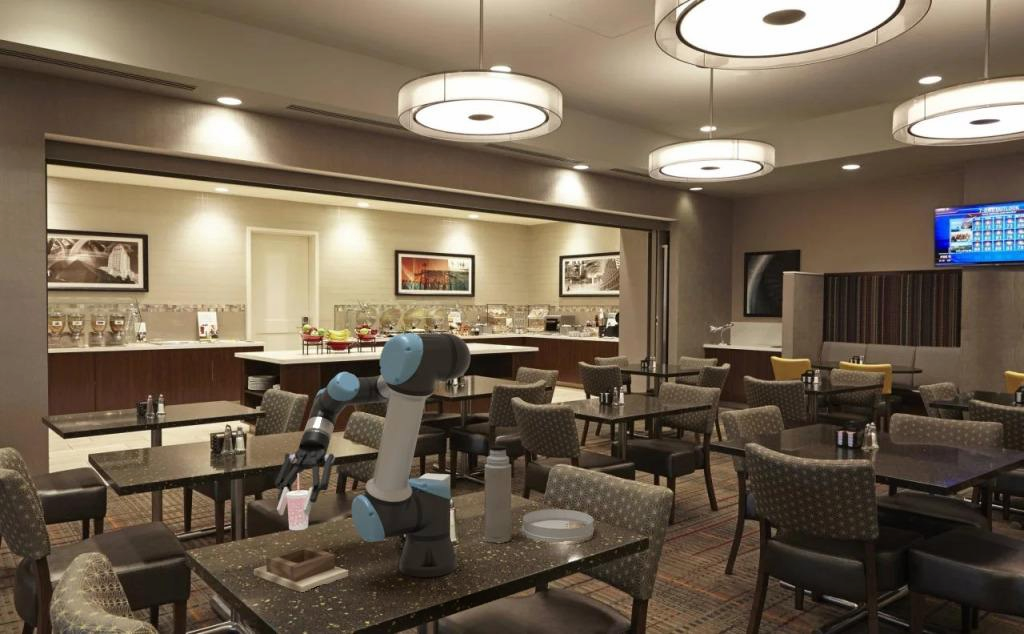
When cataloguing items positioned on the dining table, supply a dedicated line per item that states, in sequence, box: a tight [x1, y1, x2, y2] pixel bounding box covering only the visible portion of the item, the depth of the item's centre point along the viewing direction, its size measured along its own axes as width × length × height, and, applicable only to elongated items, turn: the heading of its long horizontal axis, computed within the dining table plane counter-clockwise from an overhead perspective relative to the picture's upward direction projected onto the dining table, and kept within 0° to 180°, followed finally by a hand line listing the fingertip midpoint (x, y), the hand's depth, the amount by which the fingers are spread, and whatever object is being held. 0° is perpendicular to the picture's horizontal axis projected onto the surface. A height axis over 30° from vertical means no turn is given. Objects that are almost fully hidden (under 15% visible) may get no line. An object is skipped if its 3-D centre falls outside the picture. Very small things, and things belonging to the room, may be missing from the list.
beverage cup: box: [286, 473, 309, 531], centre depth 182 cm, size 6×6×14 cm
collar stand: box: [253, 545, 349, 593], centre depth 181 cm, size 20×14×5 cm
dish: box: [521, 508, 595, 542], centre depth 217 cm, size 22×22×5 cm
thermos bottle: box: [484, 444, 512, 543], centre depth 211 cm, size 8×8×28 cm
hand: (292, 512), depth 178 cm, fingers closed on beverage cup, 6 cm apart
